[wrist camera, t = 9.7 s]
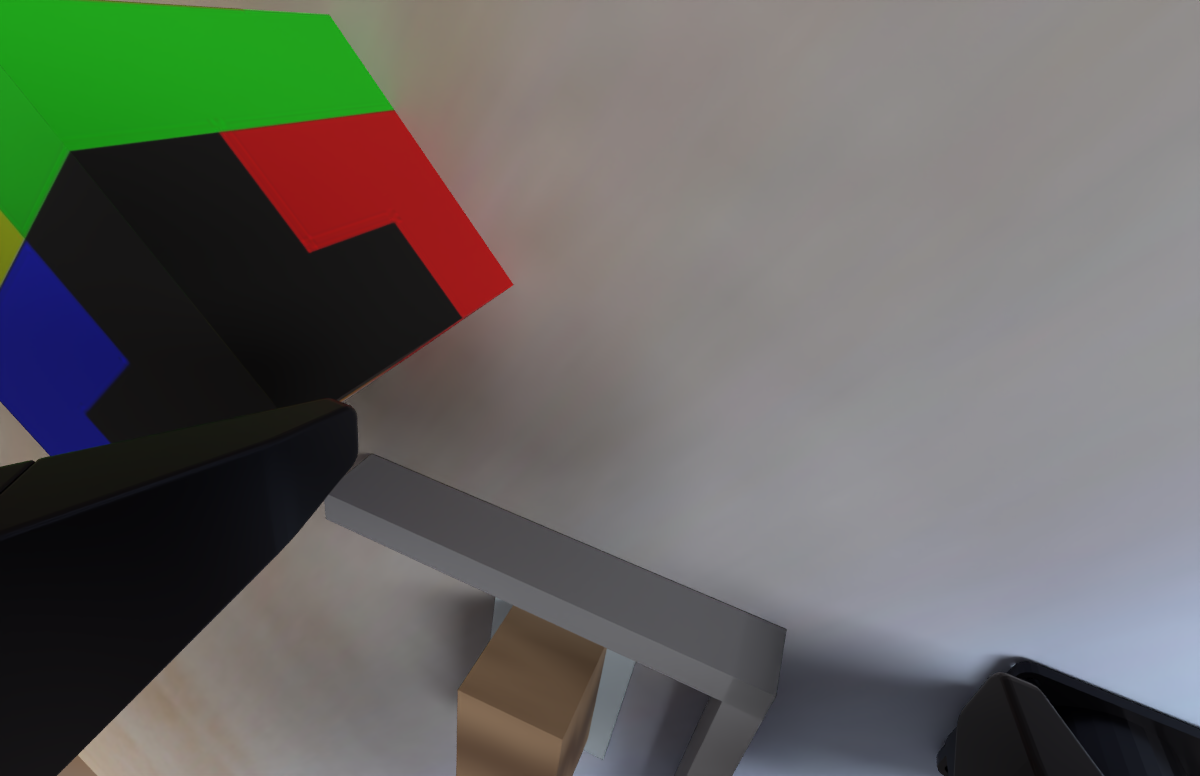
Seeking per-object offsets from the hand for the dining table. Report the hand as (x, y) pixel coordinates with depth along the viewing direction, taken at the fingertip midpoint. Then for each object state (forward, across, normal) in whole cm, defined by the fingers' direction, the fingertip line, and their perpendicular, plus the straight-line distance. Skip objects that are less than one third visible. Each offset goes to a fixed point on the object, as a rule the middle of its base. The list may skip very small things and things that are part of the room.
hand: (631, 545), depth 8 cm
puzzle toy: (+12, +15, +3) cm, 20 cm away
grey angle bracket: (+12, +4, +22) cm, 25 cm away
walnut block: (+12, +4, +21) cm, 25 cm away
